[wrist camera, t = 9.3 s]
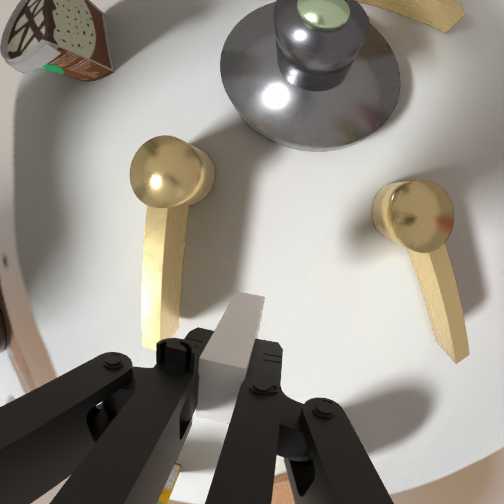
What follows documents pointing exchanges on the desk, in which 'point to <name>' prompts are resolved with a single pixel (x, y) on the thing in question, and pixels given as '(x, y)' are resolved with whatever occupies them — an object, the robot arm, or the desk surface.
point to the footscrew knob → (166, 225)
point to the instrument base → (300, 105)
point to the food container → (58, 39)
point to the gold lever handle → (426, 253)
